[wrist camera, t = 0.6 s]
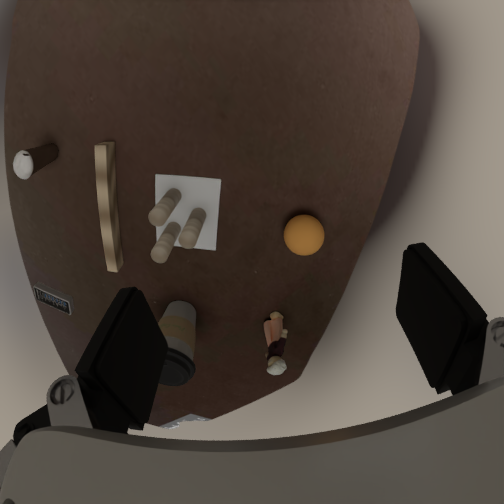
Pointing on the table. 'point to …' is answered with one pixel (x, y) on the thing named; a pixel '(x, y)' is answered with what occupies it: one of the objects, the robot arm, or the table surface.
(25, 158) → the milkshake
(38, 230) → the table surface
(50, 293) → the multiport hub
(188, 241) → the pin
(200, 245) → the pin deck mark
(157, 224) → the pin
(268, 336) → the grandmother figurine
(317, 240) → the ball
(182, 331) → the coffee cup
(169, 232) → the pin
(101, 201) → the back rail
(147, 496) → the robot arm
